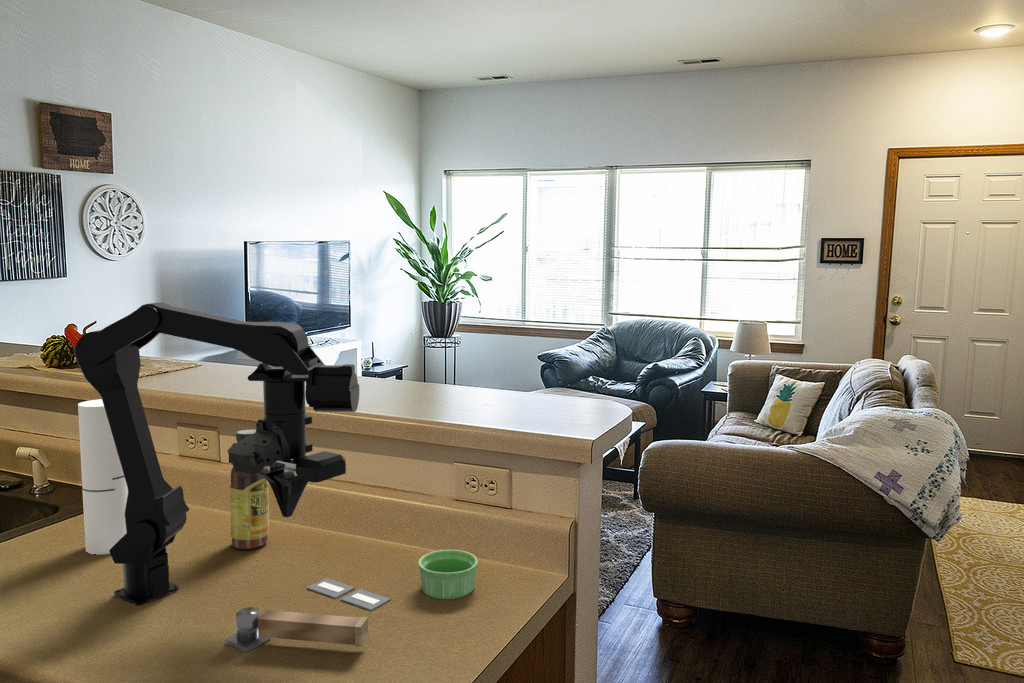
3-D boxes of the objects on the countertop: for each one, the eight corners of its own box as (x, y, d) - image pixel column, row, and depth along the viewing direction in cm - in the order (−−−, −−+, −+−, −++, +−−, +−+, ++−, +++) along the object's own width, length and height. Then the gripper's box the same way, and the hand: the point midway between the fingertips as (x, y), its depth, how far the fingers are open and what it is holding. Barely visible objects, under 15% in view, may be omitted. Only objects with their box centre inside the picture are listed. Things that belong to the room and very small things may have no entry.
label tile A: (306, 588, 113) (306, 586, 113) (326, 579, 116) (326, 577, 116) (335, 598, 110) (335, 596, 110) (355, 588, 113) (355, 586, 113)
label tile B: (340, 600, 109) (340, 598, 109) (359, 590, 113) (359, 588, 113) (371, 610, 106) (371, 609, 106) (390, 600, 109) (390, 598, 109)
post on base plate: (225, 643, 97) (224, 614, 96) (251, 630, 100) (250, 602, 100) (245, 652, 95) (244, 622, 94) (271, 638, 98) (270, 610, 98)
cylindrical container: (141, 544, 129) (135, 401, 127) (100, 557, 123) (92, 408, 121) (118, 535, 133) (111, 397, 131) (77, 548, 127) (69, 403, 125)
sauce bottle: (257, 552, 126) (253, 437, 124) (223, 549, 128) (219, 435, 125) (276, 538, 133) (274, 428, 131) (244, 535, 134) (241, 426, 132)
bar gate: (257, 637, 96) (257, 618, 95) (267, 627, 98) (266, 608, 98) (361, 646, 94) (360, 626, 93) (368, 636, 96) (367, 617, 96)
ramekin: (444, 571, 120) (444, 544, 120) (489, 585, 115) (489, 558, 114) (405, 591, 113) (405, 563, 112) (451, 607, 108) (452, 578, 107)
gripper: (194, 413, 106) (198, 520, 107) (285, 430, 96) (288, 547, 98) (258, 400, 115) (261, 499, 117) (347, 415, 105) (349, 522, 107)
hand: (287, 516), depth 109 cm, fingers closed
